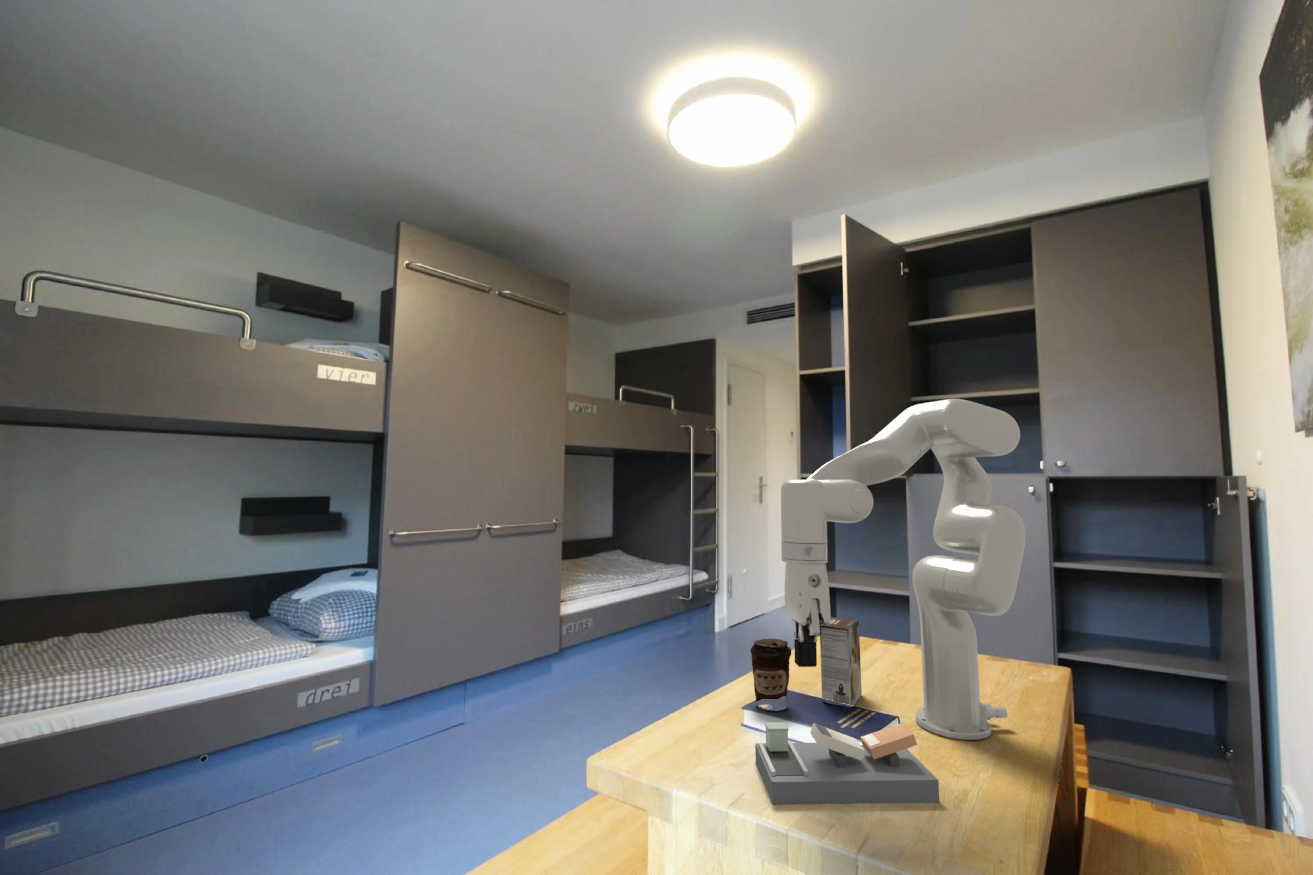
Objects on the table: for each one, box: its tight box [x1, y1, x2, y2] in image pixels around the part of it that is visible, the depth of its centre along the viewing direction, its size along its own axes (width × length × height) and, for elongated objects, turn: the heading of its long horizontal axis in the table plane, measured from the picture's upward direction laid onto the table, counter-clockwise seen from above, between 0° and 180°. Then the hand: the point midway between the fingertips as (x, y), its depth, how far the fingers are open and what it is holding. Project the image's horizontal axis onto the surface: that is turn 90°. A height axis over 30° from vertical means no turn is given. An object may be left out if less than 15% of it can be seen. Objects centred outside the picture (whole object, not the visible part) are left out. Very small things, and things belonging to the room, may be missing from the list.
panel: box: [754, 741, 940, 805], centre depth 85 cm, size 24×12×5 cm, turn 91°
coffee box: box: [819, 616, 863, 706], centre depth 118 cm, size 9×6×16 cm
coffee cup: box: [750, 638, 792, 702], centre depth 114 cm, size 9×8×13 cm
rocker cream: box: [809, 723, 865, 761], centre depth 85 cm, size 7×4×2 cm, turn 91°
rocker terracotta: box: [860, 723, 918, 759], centre depth 85 cm, size 7×4×2 cm, turn 92°
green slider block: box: [764, 721, 789, 751], centre depth 88 cm, size 3×2×3 cm
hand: (805, 664), depth 91 cm, fingers closed
